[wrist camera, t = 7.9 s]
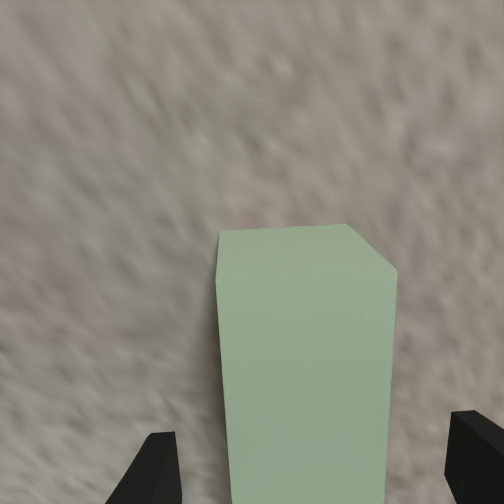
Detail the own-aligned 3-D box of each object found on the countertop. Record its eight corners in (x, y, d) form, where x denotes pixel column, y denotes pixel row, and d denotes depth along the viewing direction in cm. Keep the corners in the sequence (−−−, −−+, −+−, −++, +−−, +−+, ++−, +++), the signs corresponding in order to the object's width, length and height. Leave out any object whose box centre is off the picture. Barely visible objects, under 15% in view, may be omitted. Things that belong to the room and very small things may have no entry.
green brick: (341, 432, 18) (381, 544, 14) (234, 440, 18) (235, 556, 13) (346, 223, 16) (397, 271, 11) (219, 230, 15) (215, 282, 11)
